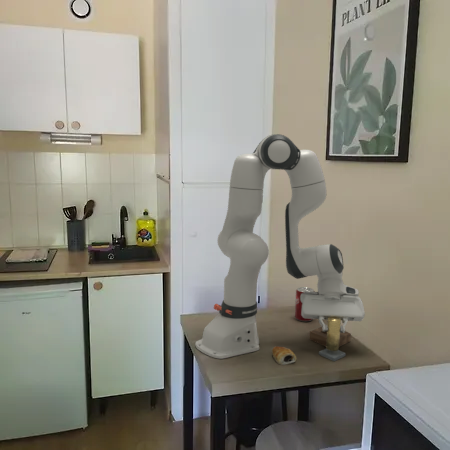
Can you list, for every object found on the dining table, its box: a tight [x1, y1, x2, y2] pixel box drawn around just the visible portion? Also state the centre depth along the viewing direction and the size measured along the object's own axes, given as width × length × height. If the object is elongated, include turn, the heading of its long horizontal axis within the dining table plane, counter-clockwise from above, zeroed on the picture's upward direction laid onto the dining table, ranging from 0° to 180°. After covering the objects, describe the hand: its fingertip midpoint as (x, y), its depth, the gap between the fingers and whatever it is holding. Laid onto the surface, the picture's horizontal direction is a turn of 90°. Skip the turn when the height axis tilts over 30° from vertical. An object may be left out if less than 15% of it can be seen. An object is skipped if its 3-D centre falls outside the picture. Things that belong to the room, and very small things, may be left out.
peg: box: [325, 317, 342, 351], centre depth 142 cm, size 4×4×10 cm
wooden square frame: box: [308, 326, 352, 347], centre depth 155 cm, size 10×10×3 cm
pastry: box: [271, 346, 297, 366], centre depth 141 cm, size 9×7×4 cm
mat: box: [318, 348, 346, 362], centre depth 143 cm, size 6×6×1 cm
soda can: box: [294, 286, 316, 323], centre depth 174 cm, size 7×7×12 cm
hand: (333, 331), depth 142 cm, fingers closed on peg, 4 cm apart
